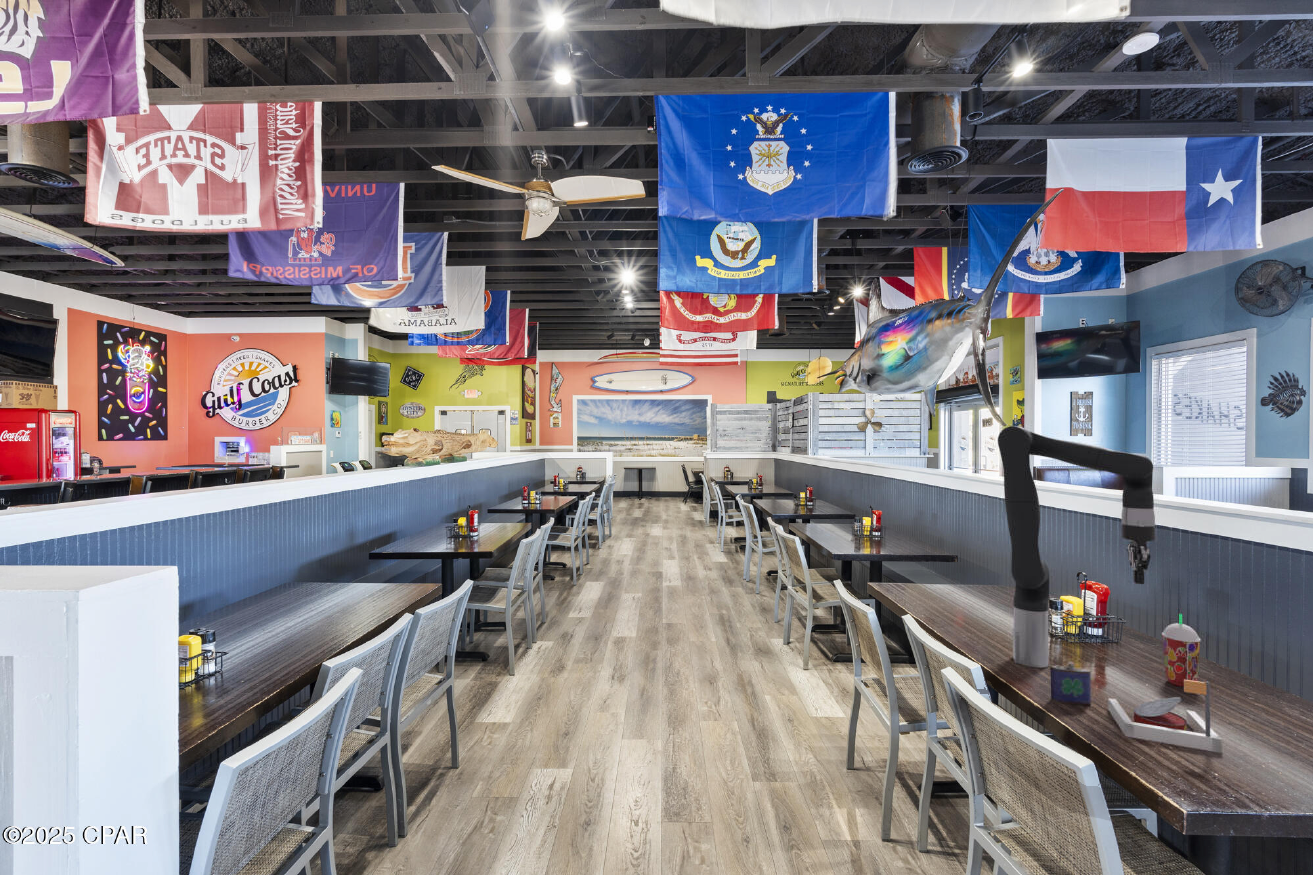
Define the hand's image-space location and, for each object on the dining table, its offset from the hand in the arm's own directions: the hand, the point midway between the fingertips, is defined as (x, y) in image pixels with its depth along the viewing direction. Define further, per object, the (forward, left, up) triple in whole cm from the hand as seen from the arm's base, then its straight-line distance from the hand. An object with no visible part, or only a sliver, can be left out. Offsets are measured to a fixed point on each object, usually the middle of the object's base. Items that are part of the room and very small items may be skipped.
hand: (1138, 583), depth 169 cm
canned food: (-4, -31, -29) cm, 43 cm away
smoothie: (+11, +6, -29) cm, 32 cm away
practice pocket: (-4, -32, -29) cm, 43 cm away
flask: (-20, -24, -29) cm, 43 cm away
